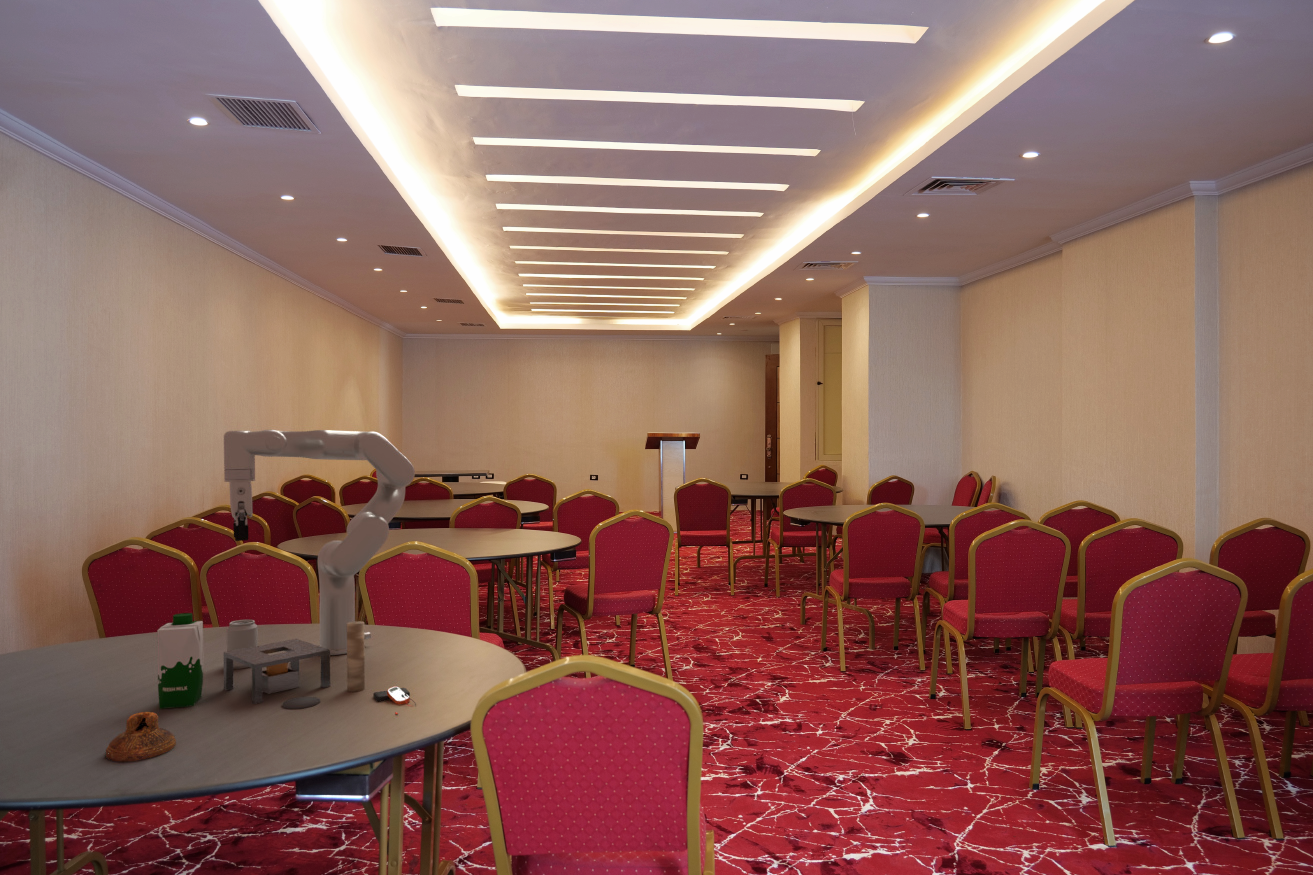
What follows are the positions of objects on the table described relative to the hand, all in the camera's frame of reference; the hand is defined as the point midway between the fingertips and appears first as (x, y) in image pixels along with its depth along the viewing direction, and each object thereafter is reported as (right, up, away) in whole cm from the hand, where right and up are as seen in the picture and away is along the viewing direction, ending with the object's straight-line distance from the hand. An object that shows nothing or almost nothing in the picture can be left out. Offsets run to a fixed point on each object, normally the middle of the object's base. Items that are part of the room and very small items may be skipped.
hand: (240, 538), depth 226 cm
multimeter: (+56, -34, -35) cm, 74 cm away
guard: (+20, -34, -22) cm, 45 cm away
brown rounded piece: (+13, -34, -64) cm, 74 cm away
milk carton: (+3, -34, -34) cm, 48 cm away
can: (+1, -34, -2) cm, 34 cm away
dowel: (+40, -34, -24) cm, 58 cm away
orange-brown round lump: (+20, -31, -22) cm, 43 cm away
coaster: (+31, -34, -35) cm, 58 cm away
